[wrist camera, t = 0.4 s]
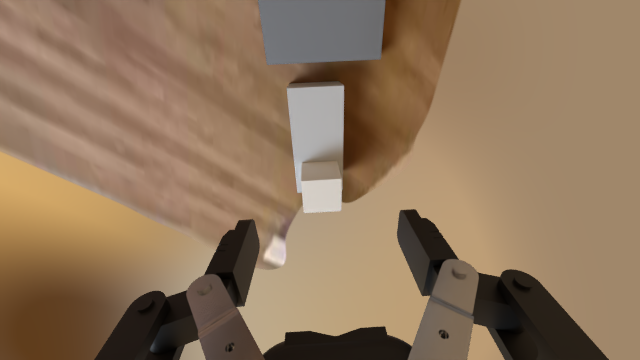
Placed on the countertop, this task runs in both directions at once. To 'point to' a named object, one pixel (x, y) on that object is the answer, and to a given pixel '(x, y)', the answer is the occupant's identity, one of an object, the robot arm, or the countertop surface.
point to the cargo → (321, 186)
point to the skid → (316, 123)
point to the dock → (321, 30)
